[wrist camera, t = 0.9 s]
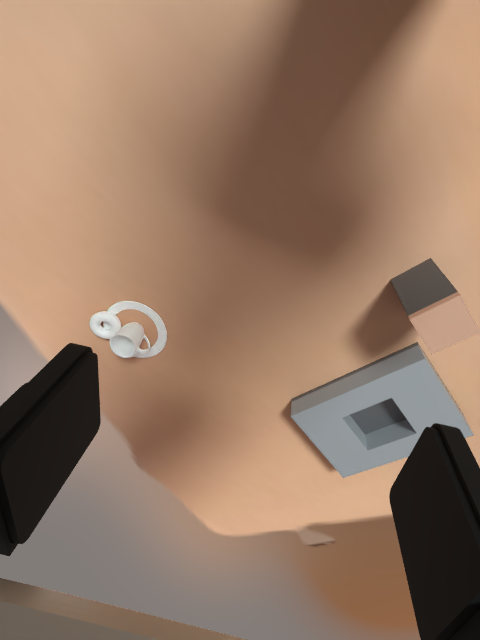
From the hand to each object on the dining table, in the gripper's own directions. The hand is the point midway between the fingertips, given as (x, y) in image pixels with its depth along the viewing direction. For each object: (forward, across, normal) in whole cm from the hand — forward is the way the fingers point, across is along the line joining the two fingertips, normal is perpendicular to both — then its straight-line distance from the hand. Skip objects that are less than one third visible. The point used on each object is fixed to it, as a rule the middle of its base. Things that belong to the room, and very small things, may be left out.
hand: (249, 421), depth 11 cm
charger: (+28, -14, +5) cm, 32 cm away
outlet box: (+28, -15, +21) cm, 39 cm away
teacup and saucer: (+29, +16, +15) cm, 36 cm away
